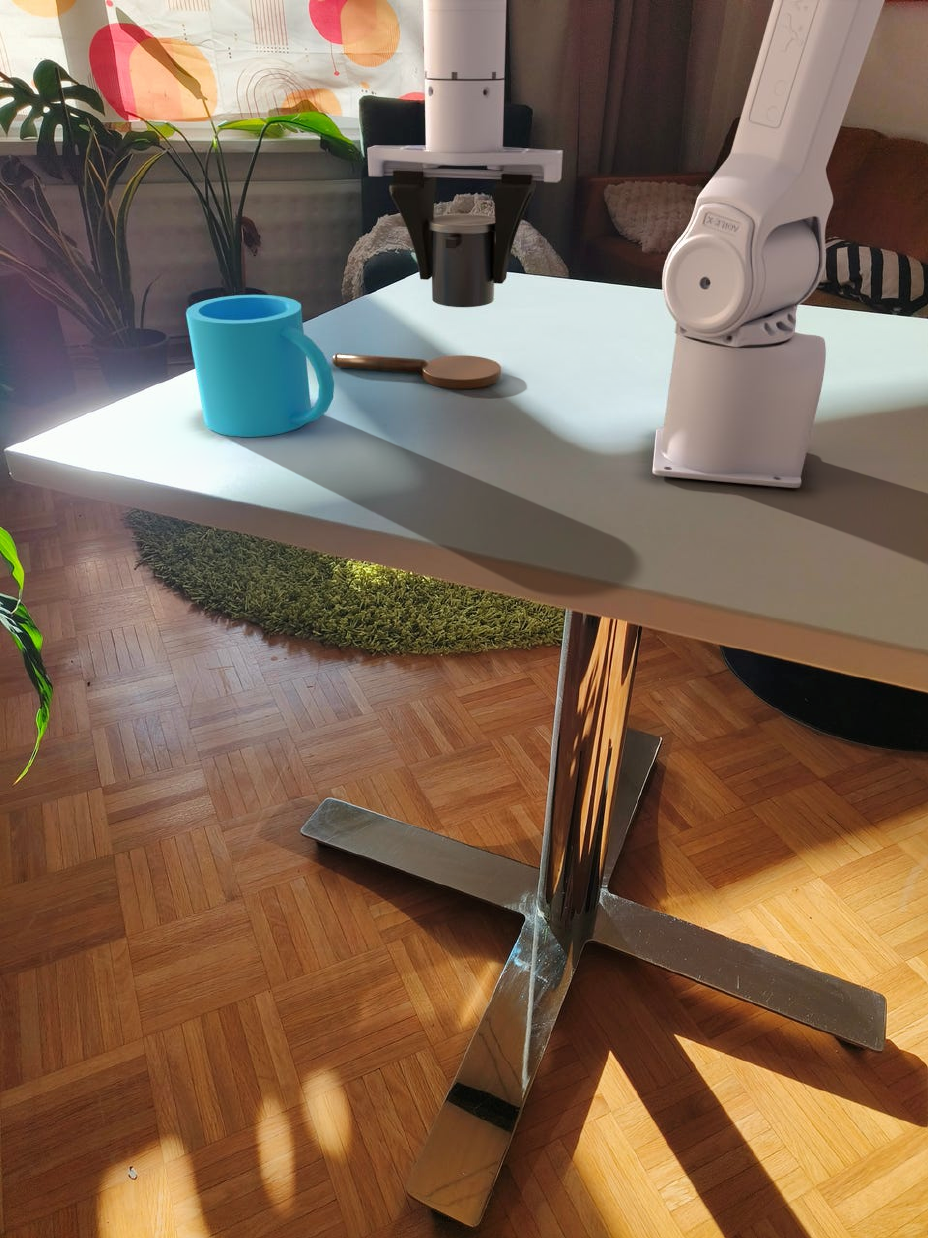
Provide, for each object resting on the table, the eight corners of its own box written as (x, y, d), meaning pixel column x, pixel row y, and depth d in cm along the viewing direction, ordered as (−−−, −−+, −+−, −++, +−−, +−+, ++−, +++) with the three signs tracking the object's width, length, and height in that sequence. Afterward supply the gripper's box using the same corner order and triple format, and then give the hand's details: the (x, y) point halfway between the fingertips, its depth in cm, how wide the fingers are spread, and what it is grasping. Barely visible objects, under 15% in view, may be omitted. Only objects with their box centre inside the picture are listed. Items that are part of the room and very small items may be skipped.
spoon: (506, 366, 77) (507, 353, 77) (492, 391, 72) (493, 377, 71) (345, 355, 80) (344, 342, 79) (320, 378, 74) (318, 364, 74)
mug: (181, 421, 66) (161, 311, 61) (259, 392, 71) (246, 289, 67) (297, 457, 60) (283, 339, 56) (371, 422, 66) (365, 312, 61)
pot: (502, 293, 72) (505, 214, 68) (486, 315, 66) (488, 230, 63) (437, 289, 73) (436, 212, 69) (415, 311, 67) (413, 227, 64)
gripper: (571, 78, 64) (559, 272, 71) (383, 76, 66) (391, 263, 74) (560, 81, 58) (548, 292, 65) (354, 79, 60) (365, 282, 68)
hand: (463, 278), depth 69 cm, fingers closed on pot, 5 cm apart
